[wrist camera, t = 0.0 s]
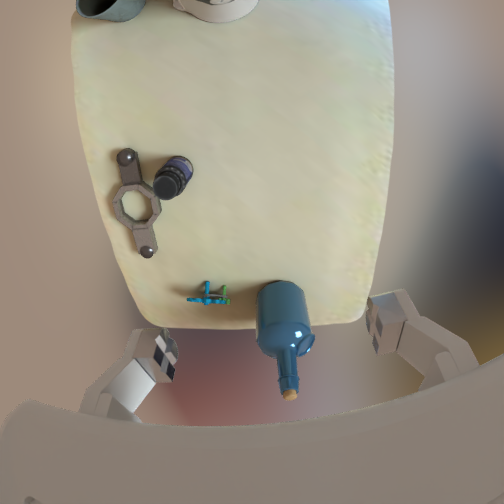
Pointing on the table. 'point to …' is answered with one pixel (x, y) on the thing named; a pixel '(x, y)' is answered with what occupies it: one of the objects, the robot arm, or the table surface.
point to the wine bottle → (284, 331)
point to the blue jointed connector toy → (206, 297)
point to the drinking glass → (110, 9)
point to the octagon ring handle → (134, 182)
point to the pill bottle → (172, 178)
